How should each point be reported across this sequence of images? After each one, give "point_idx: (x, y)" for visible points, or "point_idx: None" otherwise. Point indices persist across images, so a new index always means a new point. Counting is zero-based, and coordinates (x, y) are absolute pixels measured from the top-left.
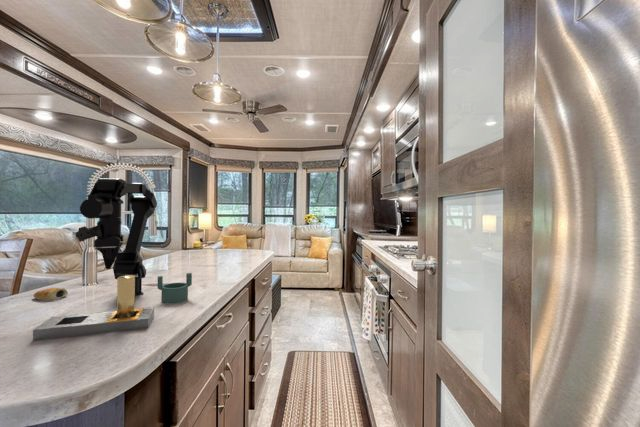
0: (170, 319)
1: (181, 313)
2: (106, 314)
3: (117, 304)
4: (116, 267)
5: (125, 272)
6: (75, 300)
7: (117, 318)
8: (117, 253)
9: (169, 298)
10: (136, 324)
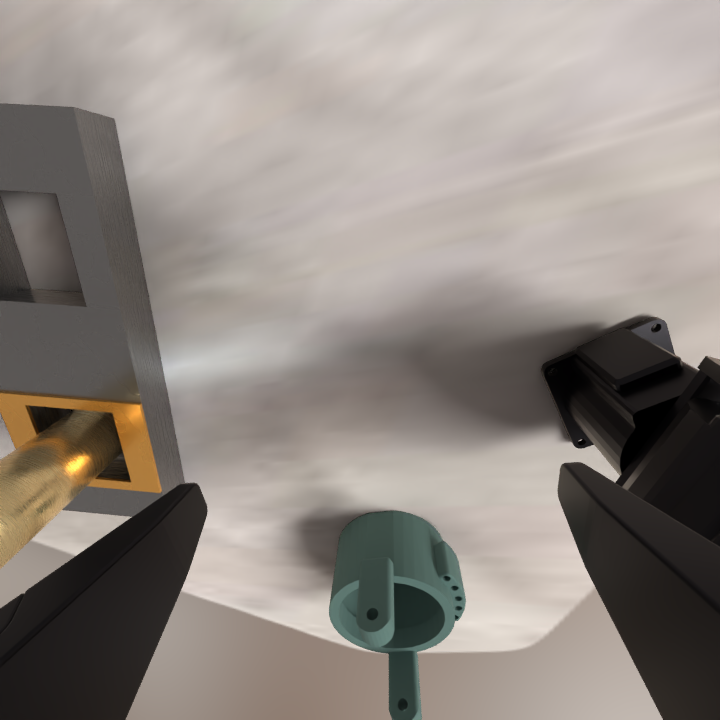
0: None
1: (205, 558)
2: (99, 374)
3: (8, 455)
4: (714, 449)
5: (634, 476)
6: (676, 49)
7: (63, 417)
8: (659, 705)
9: (338, 553)
10: None
